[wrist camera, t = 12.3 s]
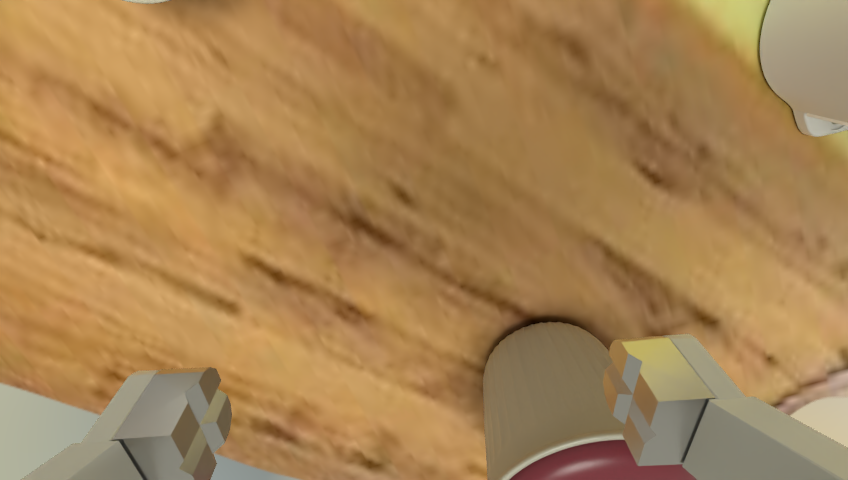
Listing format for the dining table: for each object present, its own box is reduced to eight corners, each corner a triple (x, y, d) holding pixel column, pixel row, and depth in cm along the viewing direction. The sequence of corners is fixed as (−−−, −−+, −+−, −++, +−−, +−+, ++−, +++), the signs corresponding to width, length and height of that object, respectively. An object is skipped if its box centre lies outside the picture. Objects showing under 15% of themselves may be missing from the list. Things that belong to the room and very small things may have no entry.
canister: (615, 401, 54) (724, 613, 35) (469, 421, 54) (502, 639, 36) (626, 282, 45) (780, 485, 26) (451, 308, 45) (483, 523, 27)
